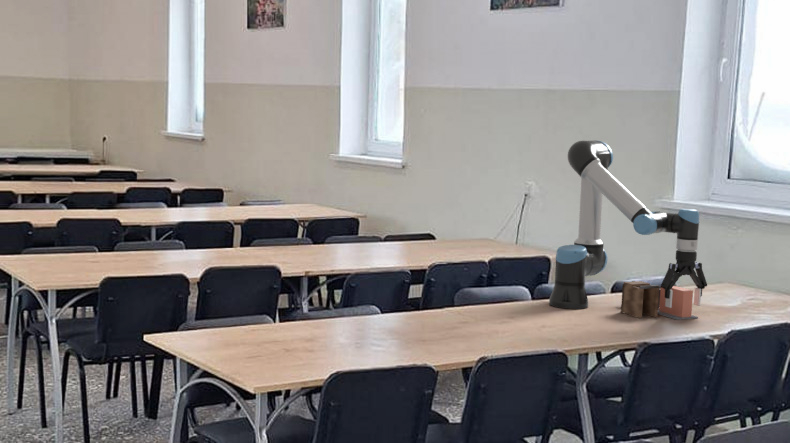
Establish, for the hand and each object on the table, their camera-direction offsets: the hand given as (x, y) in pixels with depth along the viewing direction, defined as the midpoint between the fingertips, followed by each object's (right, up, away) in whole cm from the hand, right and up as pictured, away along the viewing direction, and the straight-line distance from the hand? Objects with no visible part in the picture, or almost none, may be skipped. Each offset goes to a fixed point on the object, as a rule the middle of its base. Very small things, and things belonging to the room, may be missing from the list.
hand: (682, 306), depth 370 cm
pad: (-2, -4, +4) cm, 6 cm away
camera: (-8, -2, +19) cm, 21 cm away
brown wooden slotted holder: (-16, -3, +3) cm, 16 cm away
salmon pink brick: (-2, -3, +4) cm, 5 cm away
